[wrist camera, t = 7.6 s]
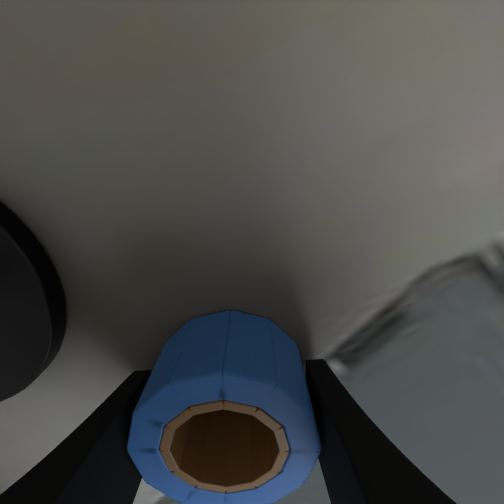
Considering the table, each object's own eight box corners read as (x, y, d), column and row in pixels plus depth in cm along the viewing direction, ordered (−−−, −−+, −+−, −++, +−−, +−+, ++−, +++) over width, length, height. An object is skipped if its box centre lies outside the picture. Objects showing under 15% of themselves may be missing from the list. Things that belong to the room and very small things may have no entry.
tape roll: (312, 409, 11) (333, 495, 8) (188, 432, 12) (167, 522, 9) (285, 296, 9) (299, 356, 7) (140, 329, 10) (95, 398, 7)
